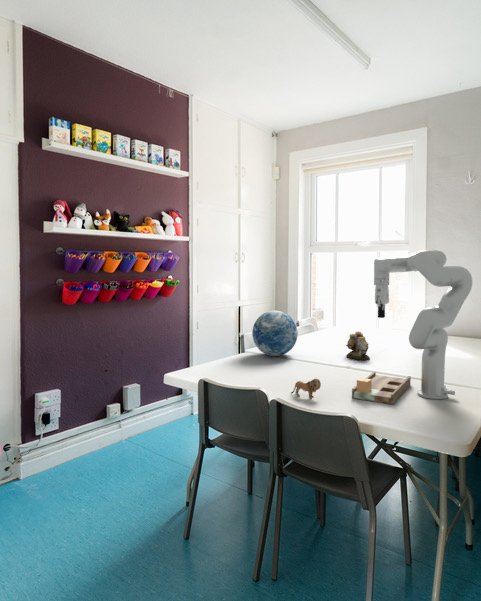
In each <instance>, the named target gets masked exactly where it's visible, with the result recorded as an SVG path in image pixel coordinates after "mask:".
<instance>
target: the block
mask: <svg viewBox="0 0 481 601" xmlns="http://www.w3.org/2000/svg"><path fill="white" fill-rule="evenodd" d="M366 378H367V377H359V378H358V379H356V385H357V391H359V392H365V393H368V392H370V391H371V390H372V379H366Z"/></svg>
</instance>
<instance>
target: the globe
mask: <svg viewBox="0 0 481 601" xmlns="http://www.w3.org/2000/svg"><path fill="white" fill-rule="evenodd" d="M251 332H252V333H251V335H252V340H253V343H254V344H255V346H256V347H257V349H258V350H259V351H260V352H261V353H263V354H264V355H267V356H271V357H280V356H283V355H286V354H287V353H289V352H290V351H291V350H292V349H293V348H294V347H295V345H296V343H297V339H298V334H299V332H298V328H297V324H296V322H295V320H294V319H293V318H292V316H290V315H289V314H288V313H287V312H283V311H281V310H268V311H266V312H264V313H262V314H261V315H259V317H258V318H257V319H256V320H255V322H254V324H253V326H252V331H251Z"/></svg>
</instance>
